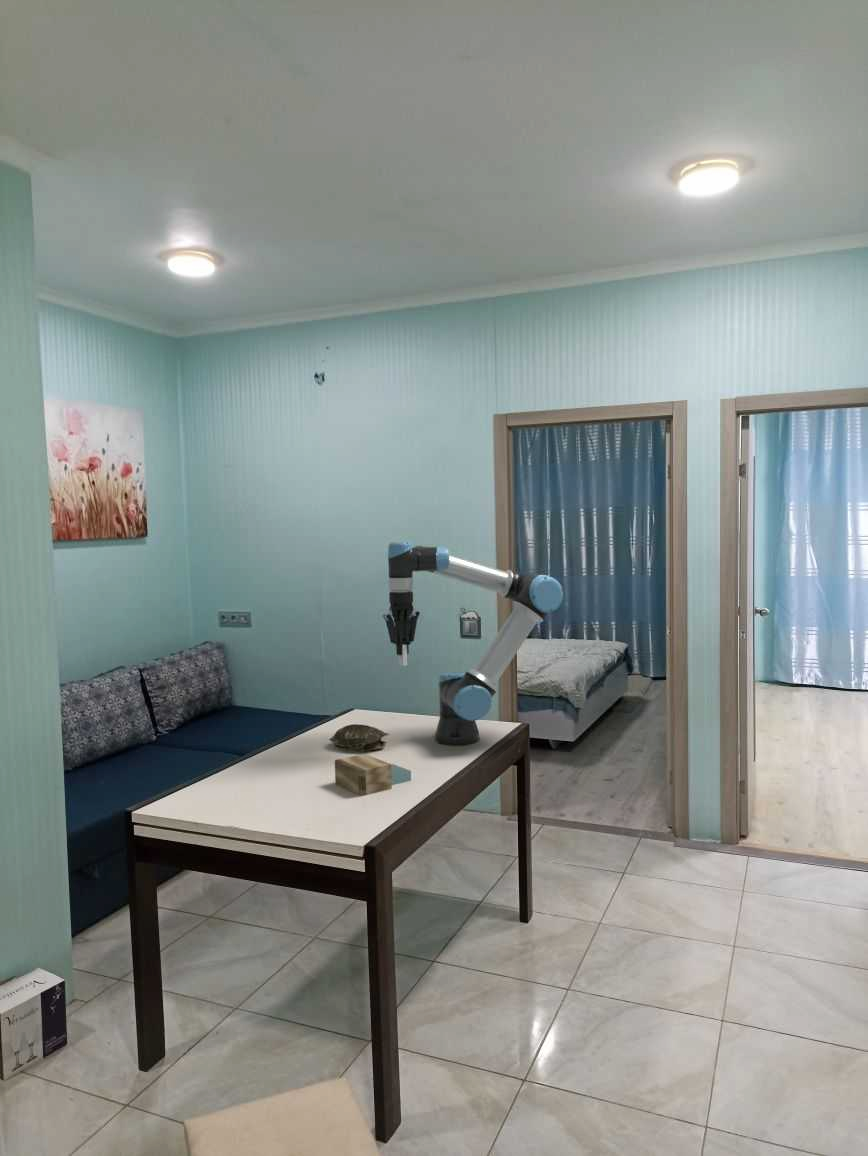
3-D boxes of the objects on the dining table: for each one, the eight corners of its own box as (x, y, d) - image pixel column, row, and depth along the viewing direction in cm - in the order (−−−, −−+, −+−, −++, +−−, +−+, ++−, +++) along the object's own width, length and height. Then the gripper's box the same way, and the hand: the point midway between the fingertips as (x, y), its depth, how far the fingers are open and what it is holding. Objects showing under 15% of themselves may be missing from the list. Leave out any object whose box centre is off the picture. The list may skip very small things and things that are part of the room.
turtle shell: (345, 721, 299) (393, 716, 290) (350, 747, 299) (398, 742, 289) (317, 731, 285) (367, 726, 275) (322, 758, 285) (372, 754, 275)
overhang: (364, 777, 253) (364, 753, 253) (391, 788, 242) (391, 764, 242) (335, 783, 247) (334, 760, 247) (361, 796, 236) (361, 771, 236)
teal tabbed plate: (393, 774, 257) (393, 764, 256) (411, 781, 249) (410, 770, 249) (353, 783, 248) (353, 773, 248) (370, 790, 241) (370, 780, 241)
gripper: (410, 588, 278) (412, 661, 280) (377, 591, 270) (379, 666, 272) (424, 590, 272) (426, 663, 274) (391, 593, 264) (393, 669, 266)
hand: (402, 664), depth 273 cm, fingers closed
